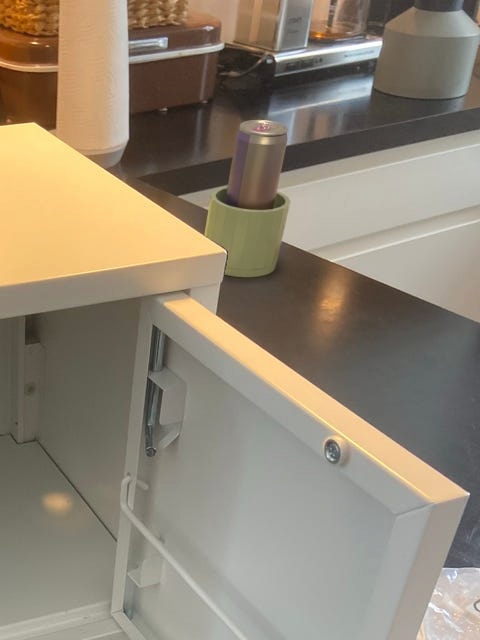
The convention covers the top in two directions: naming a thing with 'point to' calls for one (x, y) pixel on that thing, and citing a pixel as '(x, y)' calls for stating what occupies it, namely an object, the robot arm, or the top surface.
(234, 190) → the beverage can
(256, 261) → the tumbler
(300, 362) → the top surface
